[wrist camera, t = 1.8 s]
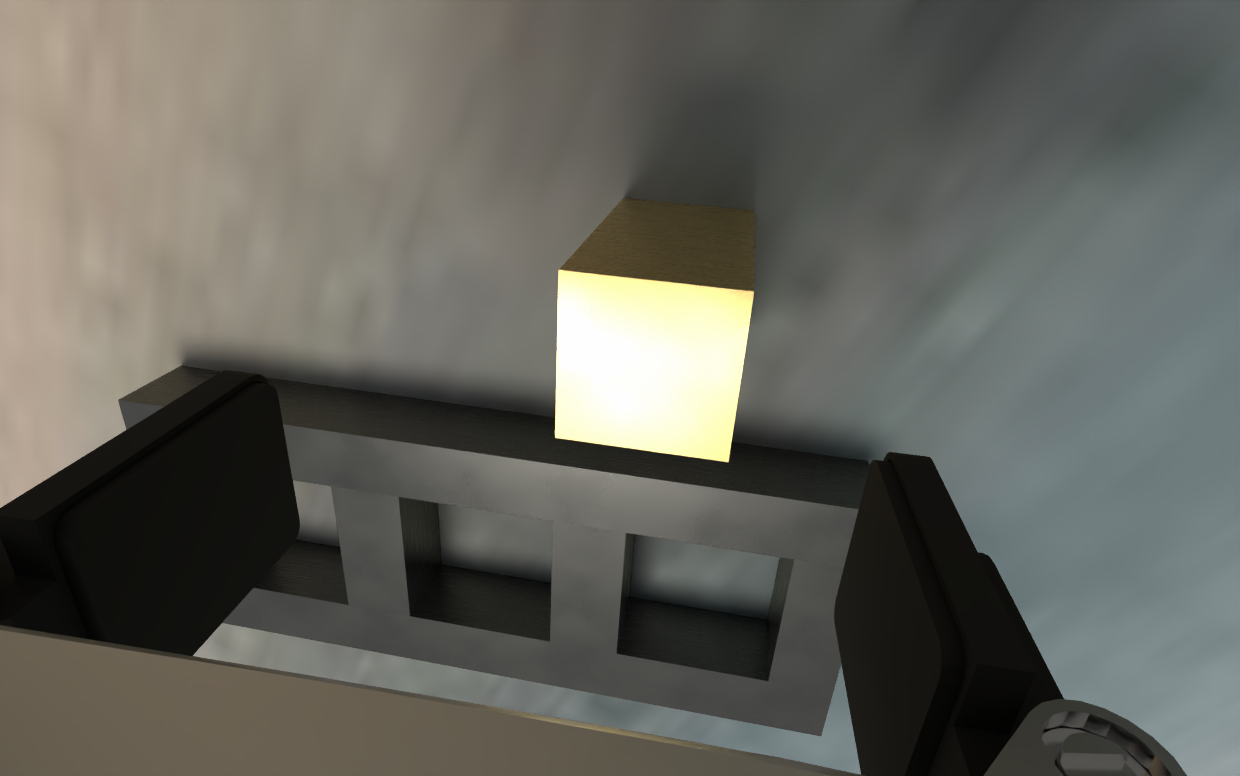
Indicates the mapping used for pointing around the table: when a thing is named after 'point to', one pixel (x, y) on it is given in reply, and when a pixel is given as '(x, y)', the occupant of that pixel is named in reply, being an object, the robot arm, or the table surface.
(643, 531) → the steel rail
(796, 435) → the table surface
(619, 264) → the brass peg
